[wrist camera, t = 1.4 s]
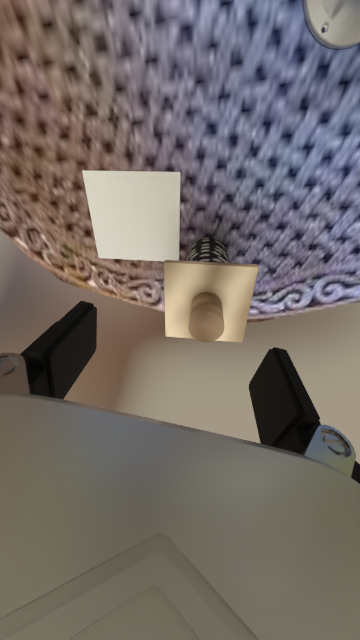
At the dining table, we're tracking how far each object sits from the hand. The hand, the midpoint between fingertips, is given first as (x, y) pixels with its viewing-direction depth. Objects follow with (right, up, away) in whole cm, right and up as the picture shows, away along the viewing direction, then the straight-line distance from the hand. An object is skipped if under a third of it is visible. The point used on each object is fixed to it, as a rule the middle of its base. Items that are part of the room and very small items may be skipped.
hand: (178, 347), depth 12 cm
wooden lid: (+4, +4, +17) cm, 18 cm away
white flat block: (-9, +22, +32) cm, 39 cm away
